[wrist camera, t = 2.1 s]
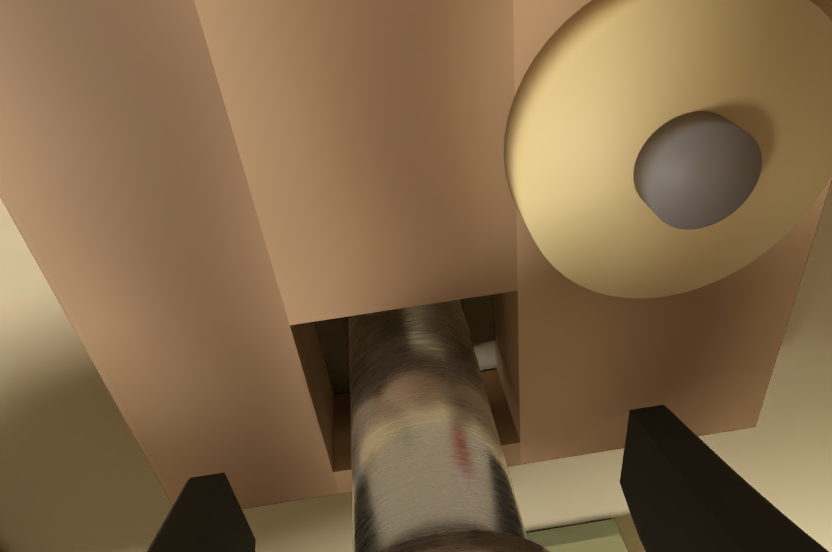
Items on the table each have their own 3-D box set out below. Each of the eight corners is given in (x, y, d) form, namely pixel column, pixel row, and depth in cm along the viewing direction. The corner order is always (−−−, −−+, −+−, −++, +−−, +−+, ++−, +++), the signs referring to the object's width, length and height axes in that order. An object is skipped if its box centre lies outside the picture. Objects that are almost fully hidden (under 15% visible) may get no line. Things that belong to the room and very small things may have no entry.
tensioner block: (200, 437, 16) (161, 594, 13) (-36, -68, 10) (-257, -31, 6) (704, 358, 17) (802, 489, 13) (821, -181, 10) (1091, -211, 6)
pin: (346, 380, 16) (350, 732, 9) (318, 267, 14) (300, 617, 7) (481, 360, 16) (577, 693, 9) (473, 244, 14) (590, 569, 7)
